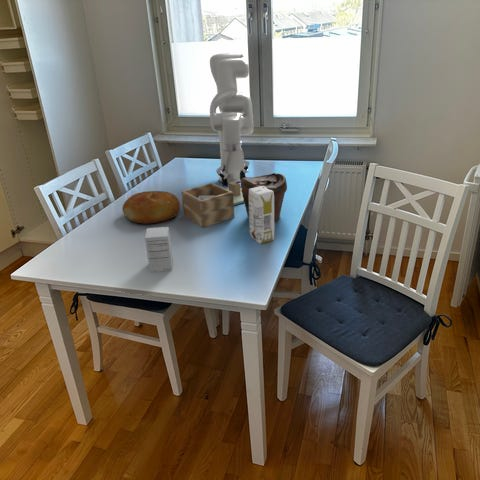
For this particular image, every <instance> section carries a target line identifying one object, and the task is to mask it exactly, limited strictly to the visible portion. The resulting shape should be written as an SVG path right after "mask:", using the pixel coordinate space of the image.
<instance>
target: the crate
mask: <svg viewBox="0 0 480 480" xmlns="http://www.w3.org/2000/svg"><path fill="white" fill-rule="evenodd" d="M180 192H181V200H182V209H183V216H184V218H186V219H188V220H190V221H191V222H193V223H194V224H196V225H198V226H199V227H201V228H204V229H205V228H207V227H210V226H212V225H216V224H218V223H222V222H225V221H227V220H230V219H233V218H235V205H234V202H233V192H232V191H230V190H227V188H226V187H224V186H221V185H218V184H216V183H214V182H210V183H207V184H203V185H200V186H195V187H192V188H188V189H184V190H181V191H180ZM199 196H214V197H211V198H207V199H204V200H201V199H199V198H198V197H199Z"/></svg>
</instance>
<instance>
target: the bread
mask: <svg viewBox="0 0 480 480" xmlns="http://www.w3.org/2000/svg"><path fill="white" fill-rule="evenodd" d="M180 204H181V203H180V200H179V198H178V196H177V195H175V194H174V193H171V192H168V191H163V190H162V191H161V190H150V191H141V192H137V193H135V194H132V195H131V196H129V197H127V199H126V200H125V201H124V202H123V205H122V209H121V210H122V213H123V215H124V217H126V218H127V220H129V221H131V222H134V223H136V224H147V225H148V224H155V223H156V224H157V223H161V222H165V221H168V220H170V219H173V218H174V217H176V216H177V215H178V214H179V213H180V208H181V205H180Z"/></svg>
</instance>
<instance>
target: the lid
mask: <svg viewBox="0 0 480 480" xmlns="http://www.w3.org/2000/svg"><path fill="white" fill-rule="evenodd" d="M240 187H241V183H239V182H237V183H236V182H230V183H228V187H226V189H227V190H230V191H232V192H233V202H234V206H237V205H239V203H240V204H243V202H244V199H243V194H242V192H241V190H242V188H240ZM236 204H237V205H236Z"/></svg>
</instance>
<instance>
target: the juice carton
mask: <svg viewBox="0 0 480 480" xmlns="http://www.w3.org/2000/svg"><path fill="white" fill-rule="evenodd" d="M248 221H249V234H250V235H249V236H250V238H252V239H253V240H254V241H255V242H257V243H258V244H259V245H261V244H265V243H267V242H272V241H274V240H275V222H274V191H272V190H269V189H267V188H266V187H265V186H260V187H255V188H251V189H249V219H248Z"/></svg>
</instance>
